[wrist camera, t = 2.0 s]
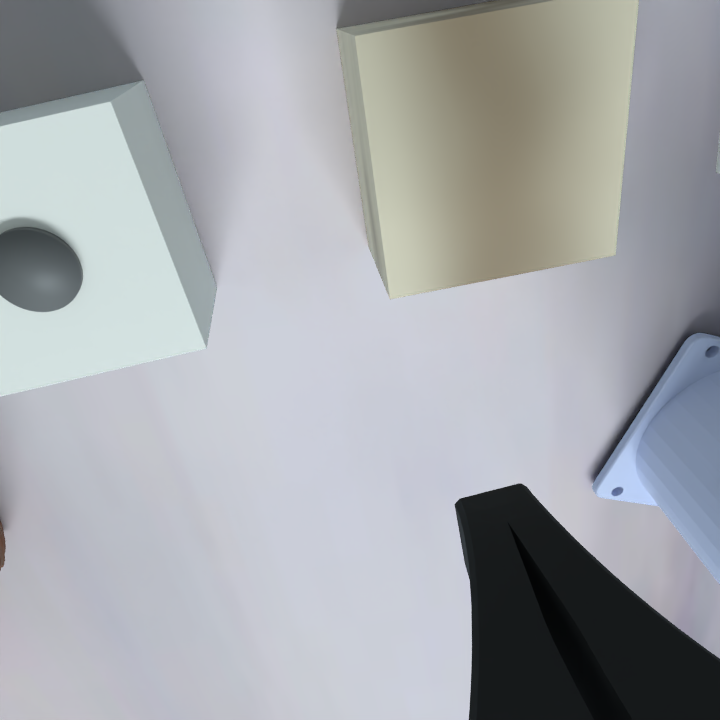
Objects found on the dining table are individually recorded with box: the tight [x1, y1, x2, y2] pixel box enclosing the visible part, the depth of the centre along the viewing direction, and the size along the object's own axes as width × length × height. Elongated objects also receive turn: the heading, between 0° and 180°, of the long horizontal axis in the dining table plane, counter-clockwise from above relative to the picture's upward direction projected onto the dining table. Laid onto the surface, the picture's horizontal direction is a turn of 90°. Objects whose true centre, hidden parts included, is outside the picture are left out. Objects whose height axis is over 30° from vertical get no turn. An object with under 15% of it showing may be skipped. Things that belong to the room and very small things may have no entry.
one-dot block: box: [0, 80, 217, 397], centre depth 15 cm, size 6×6×4 cm
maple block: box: [336, 0, 639, 299], centre depth 15 cm, size 6×6×4 cm
